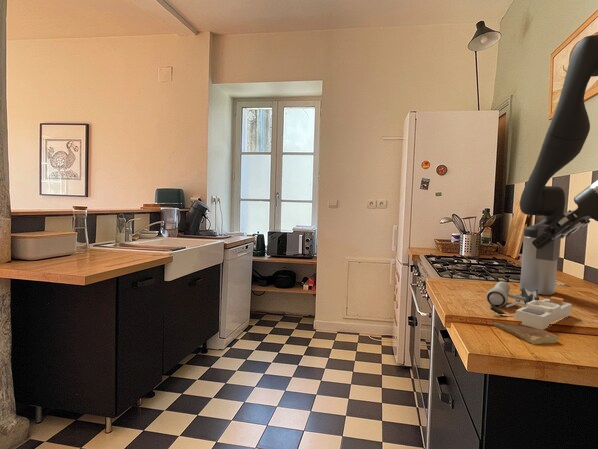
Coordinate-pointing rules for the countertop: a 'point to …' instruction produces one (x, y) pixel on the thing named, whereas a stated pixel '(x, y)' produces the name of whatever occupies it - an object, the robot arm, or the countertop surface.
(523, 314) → the power strip
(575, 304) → the countertop surface
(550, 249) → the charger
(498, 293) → the clip-on lamp
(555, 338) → the shard
